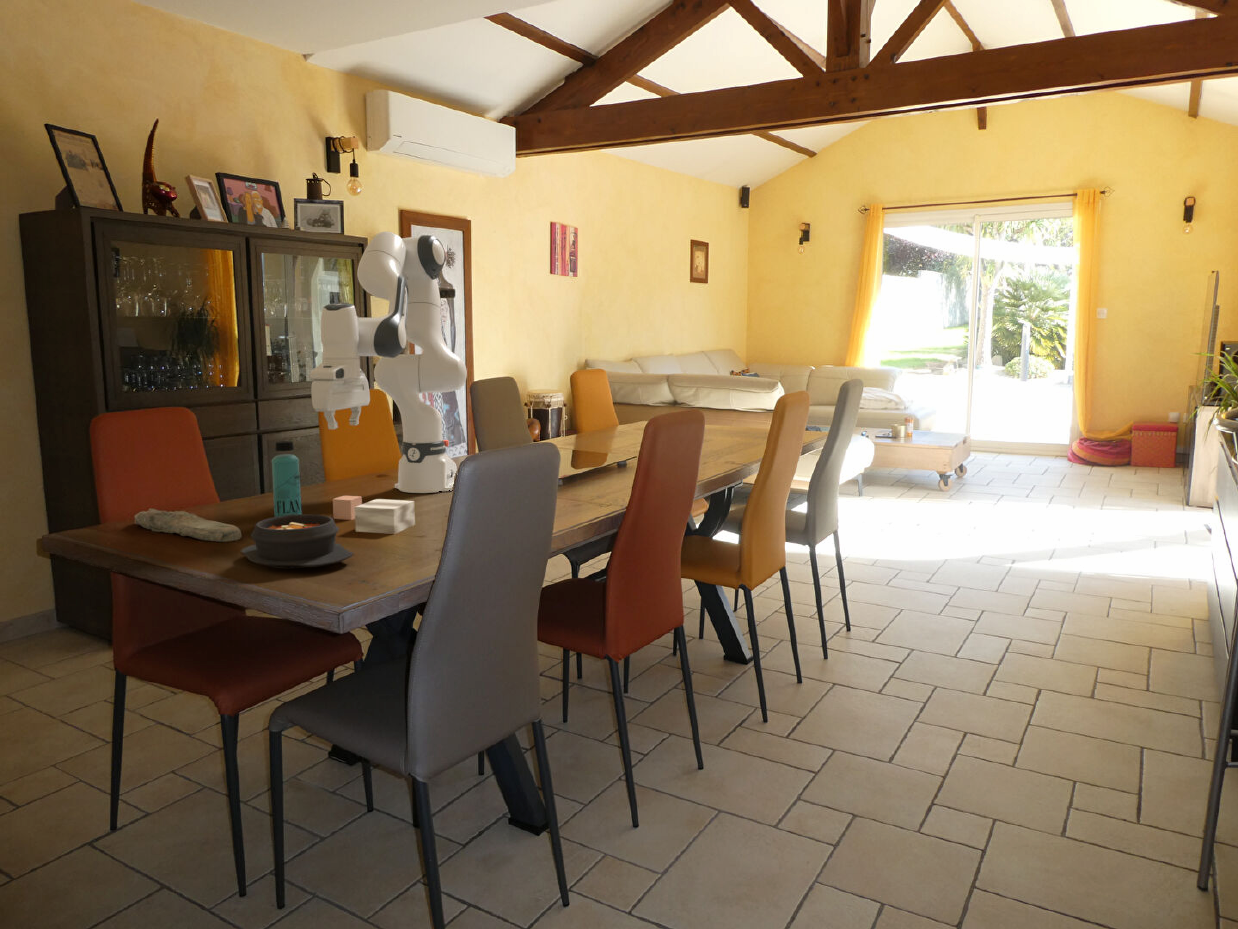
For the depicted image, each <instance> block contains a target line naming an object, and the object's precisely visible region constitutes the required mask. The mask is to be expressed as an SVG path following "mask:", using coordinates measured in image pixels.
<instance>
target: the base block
mask: <svg viewBox="0 0 1238 929" xmlns="http://www.w3.org/2000/svg"><path fill="white" fill-rule="evenodd" d="M415 510H416V508H415V501H414V500H402V499H385V498H375V499H373V500H370V501H368V502H365V503H362V504H361V505H359V506H356V507H355V519H354V522H355V532H358V533H359V532H361V533H373V534H374V533H375V534H386V535H387V534H391V535H395V534H397V533H400V532H403V531H404V530H406V529H409V528H410V527H414V526H415V525H416V514H415Z"/></svg>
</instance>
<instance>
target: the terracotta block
mask: <svg viewBox="0 0 1238 929" xmlns="http://www.w3.org/2000/svg"><path fill="white" fill-rule="evenodd" d="M361 504H363V499H362V496H360V495H359V496H358V495H342V496H337V497H335V498H332V511H333V512H332V513H333V519H334V520H335V519H336V520H344V521H345V520H349V521H353V520H355V507H356V506H359V505H361Z"/></svg>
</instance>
